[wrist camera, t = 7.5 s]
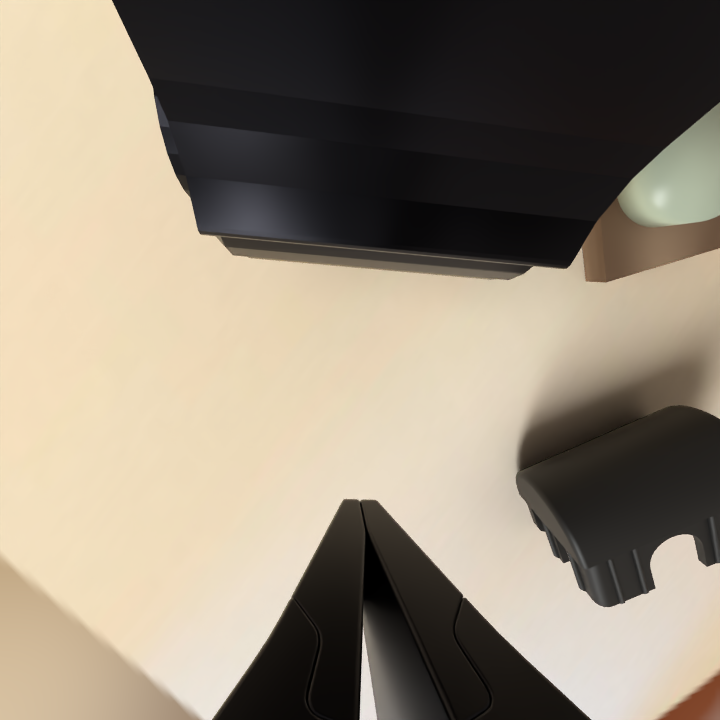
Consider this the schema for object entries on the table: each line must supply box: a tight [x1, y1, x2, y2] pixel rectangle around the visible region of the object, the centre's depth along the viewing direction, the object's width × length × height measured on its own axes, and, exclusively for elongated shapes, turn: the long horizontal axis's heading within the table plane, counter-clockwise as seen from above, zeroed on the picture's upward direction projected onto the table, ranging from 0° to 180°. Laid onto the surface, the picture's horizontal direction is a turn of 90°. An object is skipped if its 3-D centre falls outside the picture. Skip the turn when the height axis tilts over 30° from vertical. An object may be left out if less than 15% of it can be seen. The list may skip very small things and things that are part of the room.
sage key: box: [617, 103, 720, 228], centre depth 16 cm, size 5×5×2 cm
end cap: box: [516, 405, 720, 607], centre depth 20 cm, size 10×7×7 cm
